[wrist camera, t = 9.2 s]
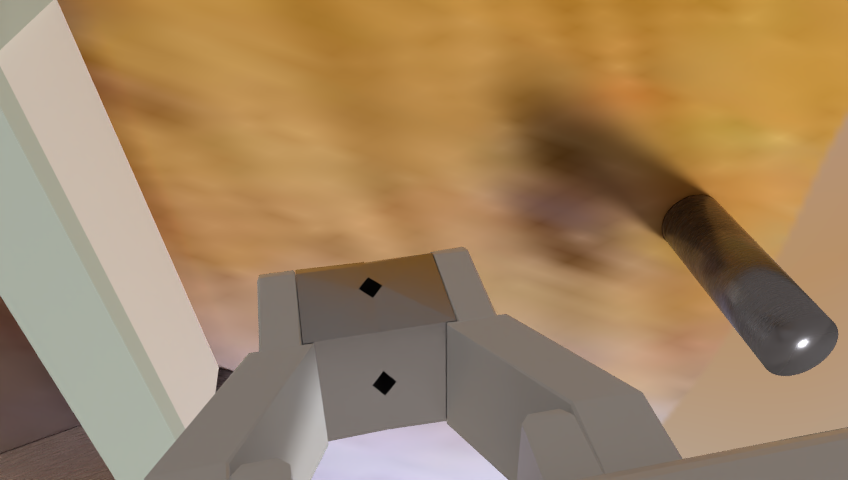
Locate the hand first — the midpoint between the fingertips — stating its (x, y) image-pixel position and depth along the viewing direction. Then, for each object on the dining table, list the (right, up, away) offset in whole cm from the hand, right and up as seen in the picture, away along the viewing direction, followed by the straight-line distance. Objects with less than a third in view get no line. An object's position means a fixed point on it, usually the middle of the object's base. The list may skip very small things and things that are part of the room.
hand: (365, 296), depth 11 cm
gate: (-7, +2, +9) cm, 12 cm away
